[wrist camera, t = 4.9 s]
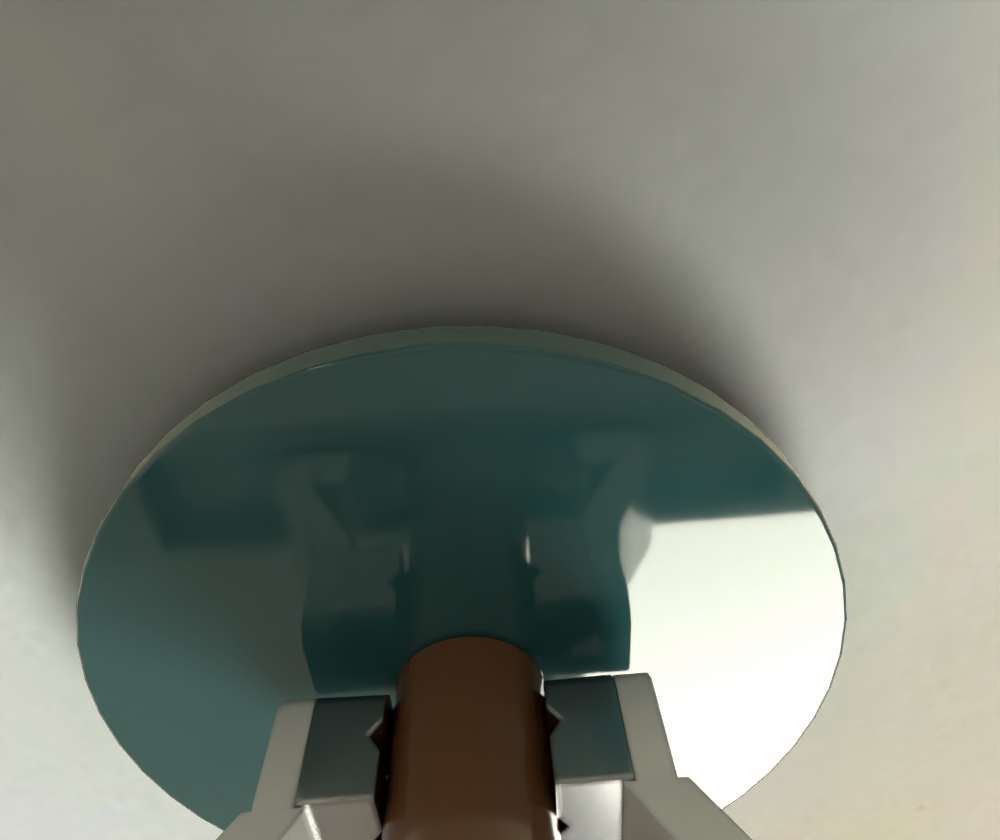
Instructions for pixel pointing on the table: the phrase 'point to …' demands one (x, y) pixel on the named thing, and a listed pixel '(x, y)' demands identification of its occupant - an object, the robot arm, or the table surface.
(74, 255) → the table surface
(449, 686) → the lid
